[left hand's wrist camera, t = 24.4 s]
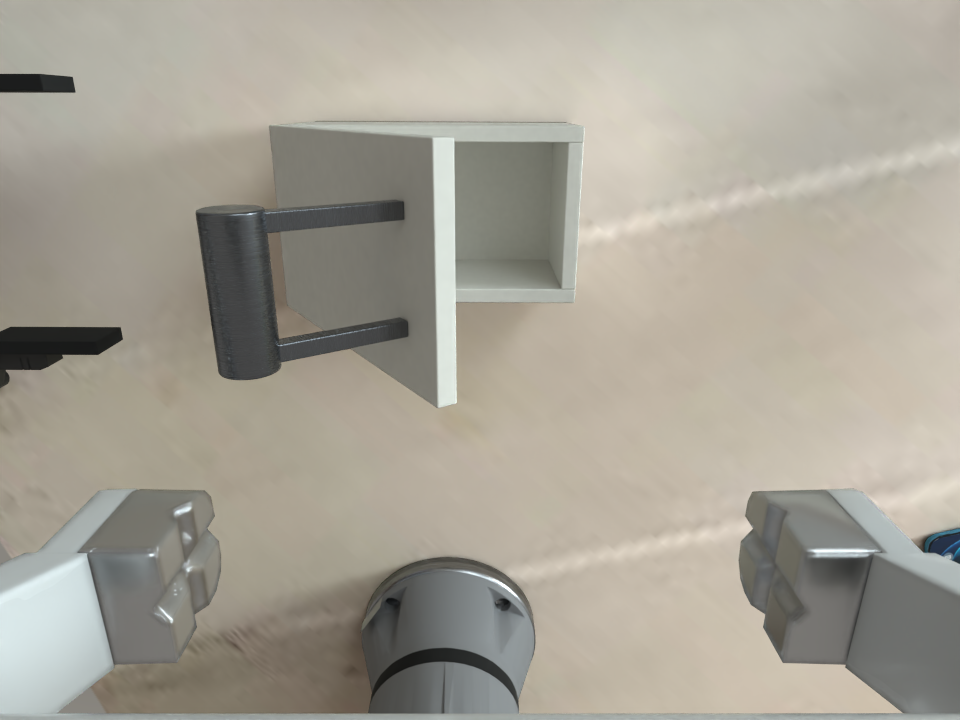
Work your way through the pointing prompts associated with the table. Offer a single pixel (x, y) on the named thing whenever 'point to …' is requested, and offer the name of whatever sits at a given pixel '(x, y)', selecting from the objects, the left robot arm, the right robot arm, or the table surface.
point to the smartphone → (945, 545)
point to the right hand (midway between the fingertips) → (86, 220)
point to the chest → (508, 205)
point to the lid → (342, 258)
